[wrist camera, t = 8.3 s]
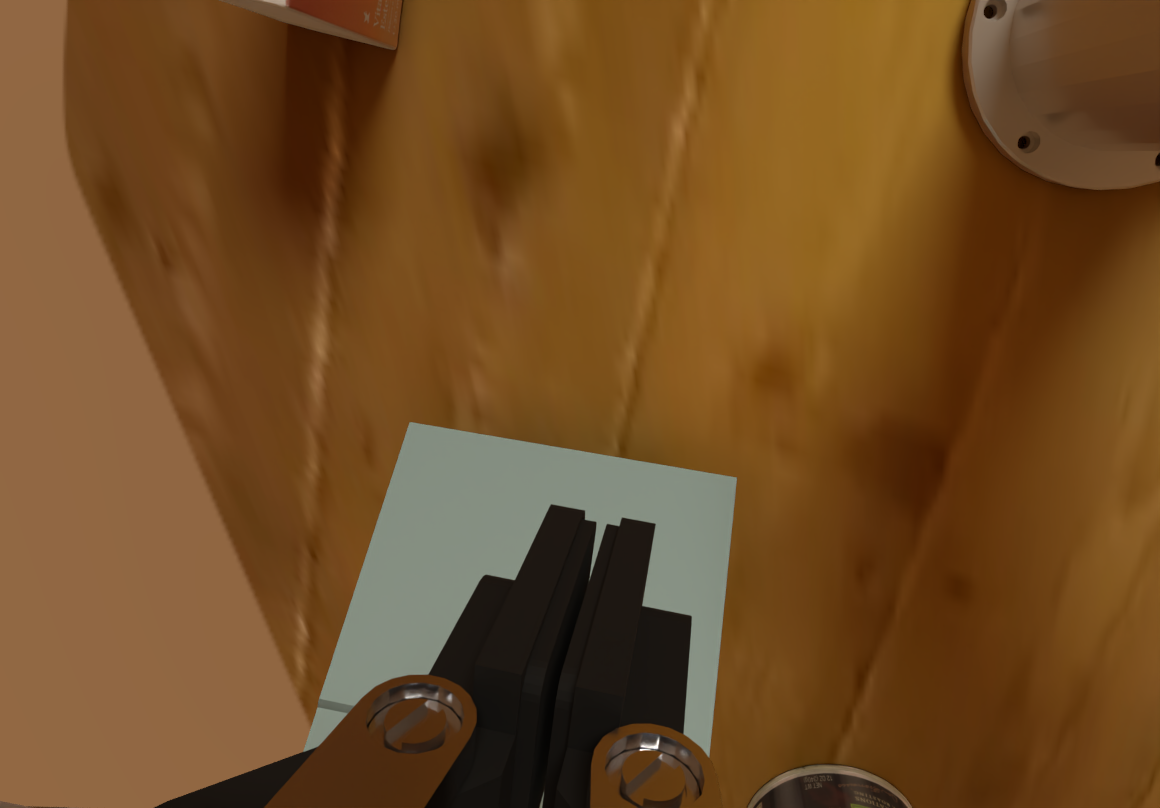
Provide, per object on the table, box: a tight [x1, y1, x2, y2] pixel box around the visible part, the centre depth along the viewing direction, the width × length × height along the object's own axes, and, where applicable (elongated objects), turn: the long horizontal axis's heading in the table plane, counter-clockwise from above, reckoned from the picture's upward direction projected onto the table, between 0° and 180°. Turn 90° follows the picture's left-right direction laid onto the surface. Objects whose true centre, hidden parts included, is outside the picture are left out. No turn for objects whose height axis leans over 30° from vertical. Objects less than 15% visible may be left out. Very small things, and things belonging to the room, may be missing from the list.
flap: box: [303, 422, 737, 808], centre depth 31 cm, size 16×27×1 cm
